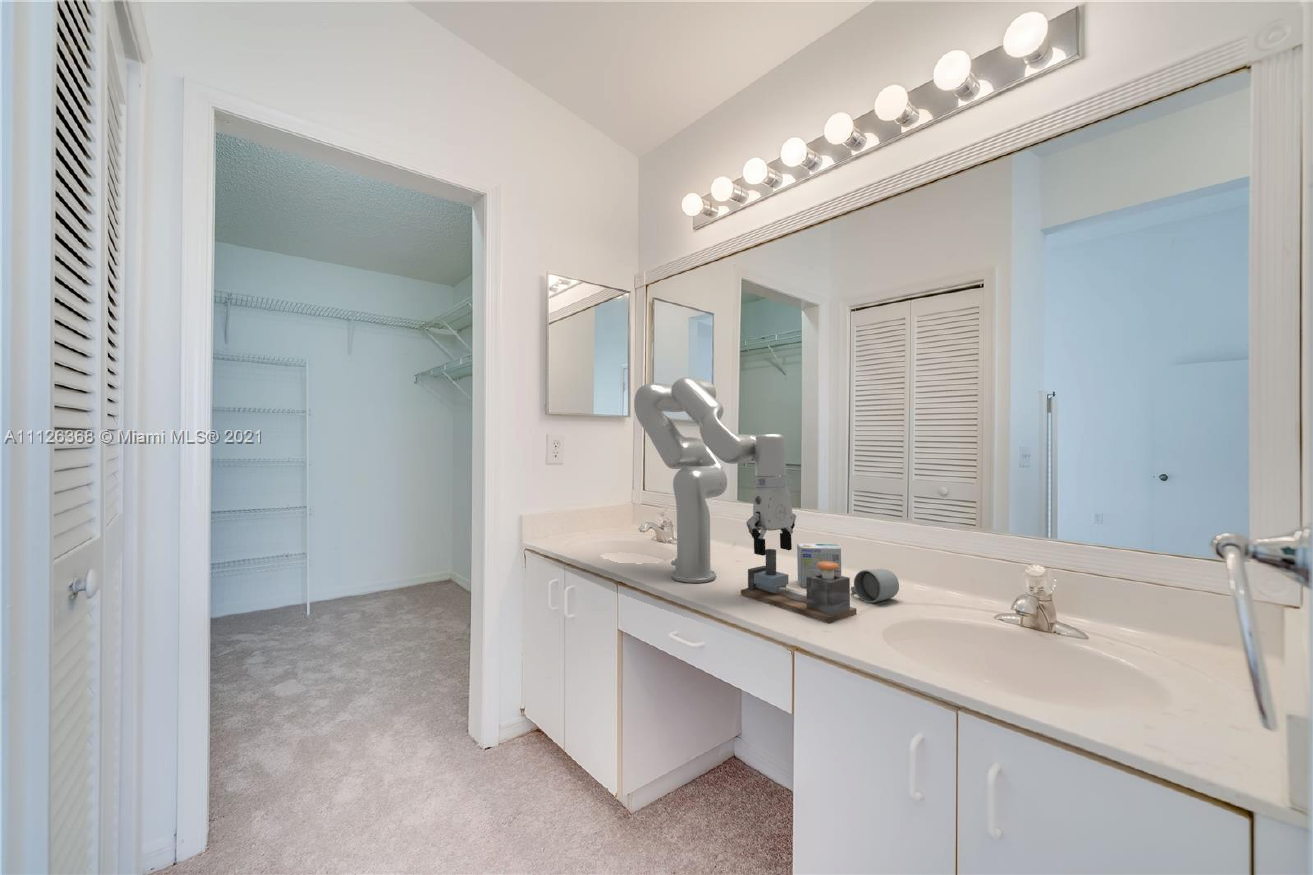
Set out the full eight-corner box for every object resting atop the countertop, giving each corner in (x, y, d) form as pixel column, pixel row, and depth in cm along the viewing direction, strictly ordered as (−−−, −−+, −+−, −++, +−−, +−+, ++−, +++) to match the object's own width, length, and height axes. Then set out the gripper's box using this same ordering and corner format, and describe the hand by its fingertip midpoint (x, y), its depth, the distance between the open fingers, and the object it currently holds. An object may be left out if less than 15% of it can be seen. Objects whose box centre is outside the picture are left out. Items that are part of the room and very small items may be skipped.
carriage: (753, 587, 128) (753, 549, 128) (769, 583, 131) (769, 546, 131) (772, 593, 123) (772, 553, 123) (788, 589, 126) (788, 550, 126)
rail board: (741, 594, 128) (740, 561, 128) (767, 587, 134) (767, 556, 134) (829, 623, 108) (829, 584, 108) (856, 613, 114) (856, 577, 114)
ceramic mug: (902, 601, 123) (901, 569, 123) (880, 606, 118) (880, 573, 118) (863, 591, 132) (863, 561, 132) (843, 596, 127) (842, 565, 128)
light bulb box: (836, 582, 140) (835, 542, 140) (842, 589, 133) (842, 547, 133) (796, 581, 141) (796, 542, 141) (800, 588, 134) (800, 547, 134)
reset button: (813, 585, 114) (813, 563, 114) (825, 582, 117) (825, 560, 117) (830, 590, 111) (830, 567, 111) (842, 586, 113) (842, 564, 113)
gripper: (758, 485, 119) (760, 559, 118) (805, 481, 129) (807, 549, 129) (735, 484, 125) (737, 554, 124) (781, 480, 135) (784, 545, 135)
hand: (773, 552), depth 127 cm, fingers open, 9 cm apart
